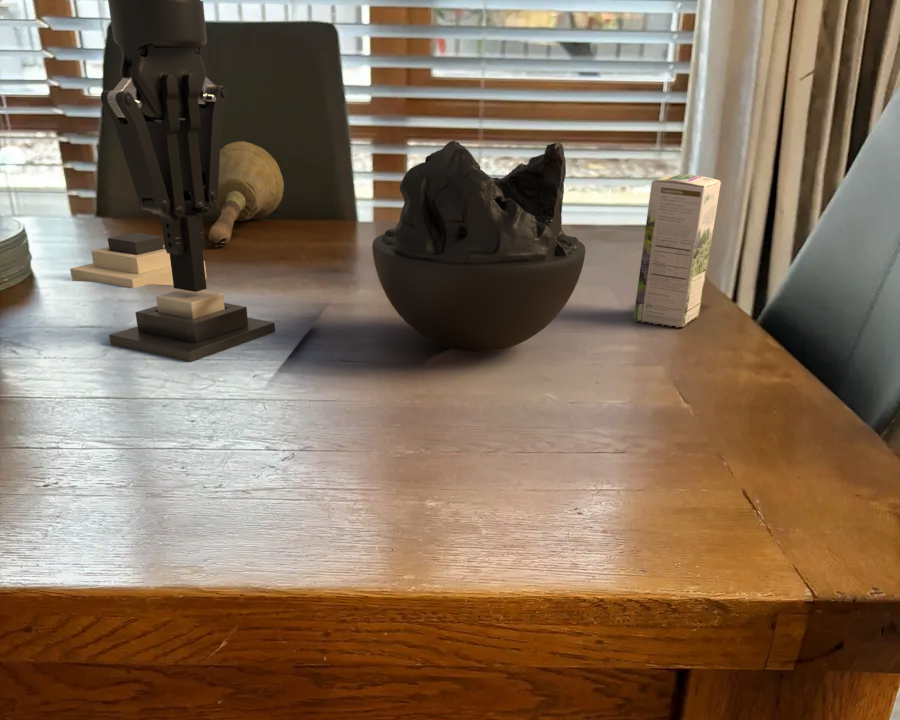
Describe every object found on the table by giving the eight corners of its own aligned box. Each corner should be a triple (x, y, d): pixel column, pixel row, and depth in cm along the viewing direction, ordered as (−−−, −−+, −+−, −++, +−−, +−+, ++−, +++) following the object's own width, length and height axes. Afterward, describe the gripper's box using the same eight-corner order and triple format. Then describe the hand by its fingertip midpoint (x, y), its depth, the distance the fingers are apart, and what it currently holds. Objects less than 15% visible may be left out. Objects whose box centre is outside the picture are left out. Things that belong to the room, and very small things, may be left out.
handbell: (260, 232, 158) (231, 296, 139) (194, 186, 154) (156, 245, 135) (299, 172, 152) (274, 230, 133) (231, 122, 147) (196, 174, 128)
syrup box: (650, 310, 111) (667, 172, 104) (701, 318, 108) (722, 177, 101) (632, 321, 107) (649, 178, 99) (684, 330, 104) (705, 183, 97)
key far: (136, 258, 113) (134, 242, 112) (109, 253, 115) (107, 238, 114) (164, 251, 117) (162, 236, 116) (137, 247, 118) (135, 232, 118)
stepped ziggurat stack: (134, 299, 111) (129, 263, 109) (73, 287, 115) (66, 252, 113) (207, 279, 120) (203, 245, 118) (147, 269, 124) (143, 236, 122)
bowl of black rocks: (339, 363, 92) (330, 143, 82) (422, 313, 108) (422, 125, 98) (542, 392, 86) (558, 159, 76) (598, 335, 102) (617, 136, 92)
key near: (193, 322, 90) (191, 303, 89) (158, 315, 92) (155, 296, 91) (225, 312, 93) (223, 293, 92) (190, 305, 95) (188, 287, 94)
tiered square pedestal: (192, 376, 88) (186, 331, 86) (112, 358, 92) (105, 315, 90) (276, 344, 97) (273, 303, 95) (200, 329, 101) (195, 289, 99)
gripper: (128, -11, 73) (170, 308, 85) (243, -6, 83) (266, 280, 95) (58, -11, 76) (108, 297, 88) (177, -7, 86) (207, 270, 98)
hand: (190, 288), depth 91 cm, fingers closed
